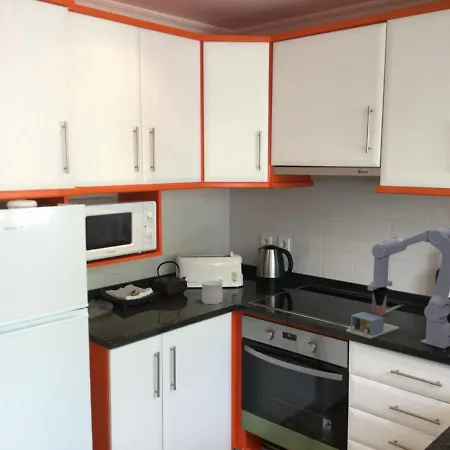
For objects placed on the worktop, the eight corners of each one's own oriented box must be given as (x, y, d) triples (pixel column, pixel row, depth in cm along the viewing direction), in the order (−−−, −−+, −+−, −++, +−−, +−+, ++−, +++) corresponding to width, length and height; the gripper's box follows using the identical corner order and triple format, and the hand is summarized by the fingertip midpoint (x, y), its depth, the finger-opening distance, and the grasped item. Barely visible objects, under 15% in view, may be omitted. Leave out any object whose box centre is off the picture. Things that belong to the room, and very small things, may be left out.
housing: (383, 330, 218) (383, 317, 217) (371, 334, 213) (372, 320, 212) (362, 324, 225) (362, 311, 225) (350, 328, 220) (351, 315, 219)
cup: (226, 302, 262) (226, 282, 261) (211, 306, 255) (212, 285, 254) (212, 298, 269) (212, 279, 268) (197, 302, 262) (198, 282, 261)
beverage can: (369, 314, 245) (370, 281, 243) (376, 311, 249) (377, 279, 247) (381, 317, 241) (382, 283, 239) (387, 314, 245) (389, 281, 243)
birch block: (376, 330, 219) (376, 319, 219) (369, 332, 216) (369, 321, 216) (366, 327, 223) (367, 316, 222) (360, 329, 220) (360, 318, 219)
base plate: (398, 328, 224) (399, 322, 224) (370, 338, 211) (370, 331, 211) (374, 322, 233) (375, 315, 233) (346, 331, 220) (346, 324, 220)
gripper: (382, 268, 229) (381, 300, 231) (361, 273, 220) (360, 306, 221) (397, 271, 224) (395, 303, 225) (376, 276, 214) (375, 309, 216)
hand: (379, 305), depth 223 cm, fingers closed
